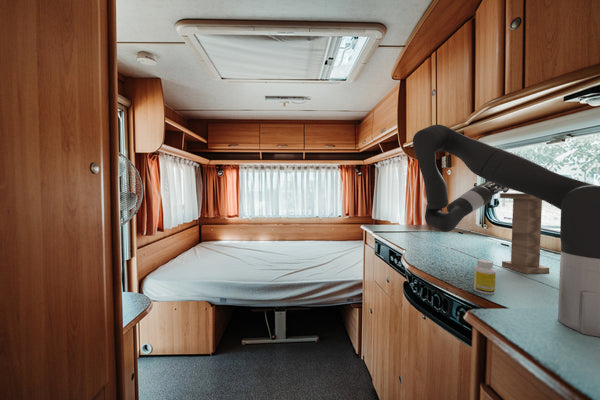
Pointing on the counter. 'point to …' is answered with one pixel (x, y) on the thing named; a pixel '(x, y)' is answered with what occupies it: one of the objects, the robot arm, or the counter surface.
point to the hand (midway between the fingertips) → (508, 177)
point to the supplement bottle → (484, 277)
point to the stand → (525, 234)
